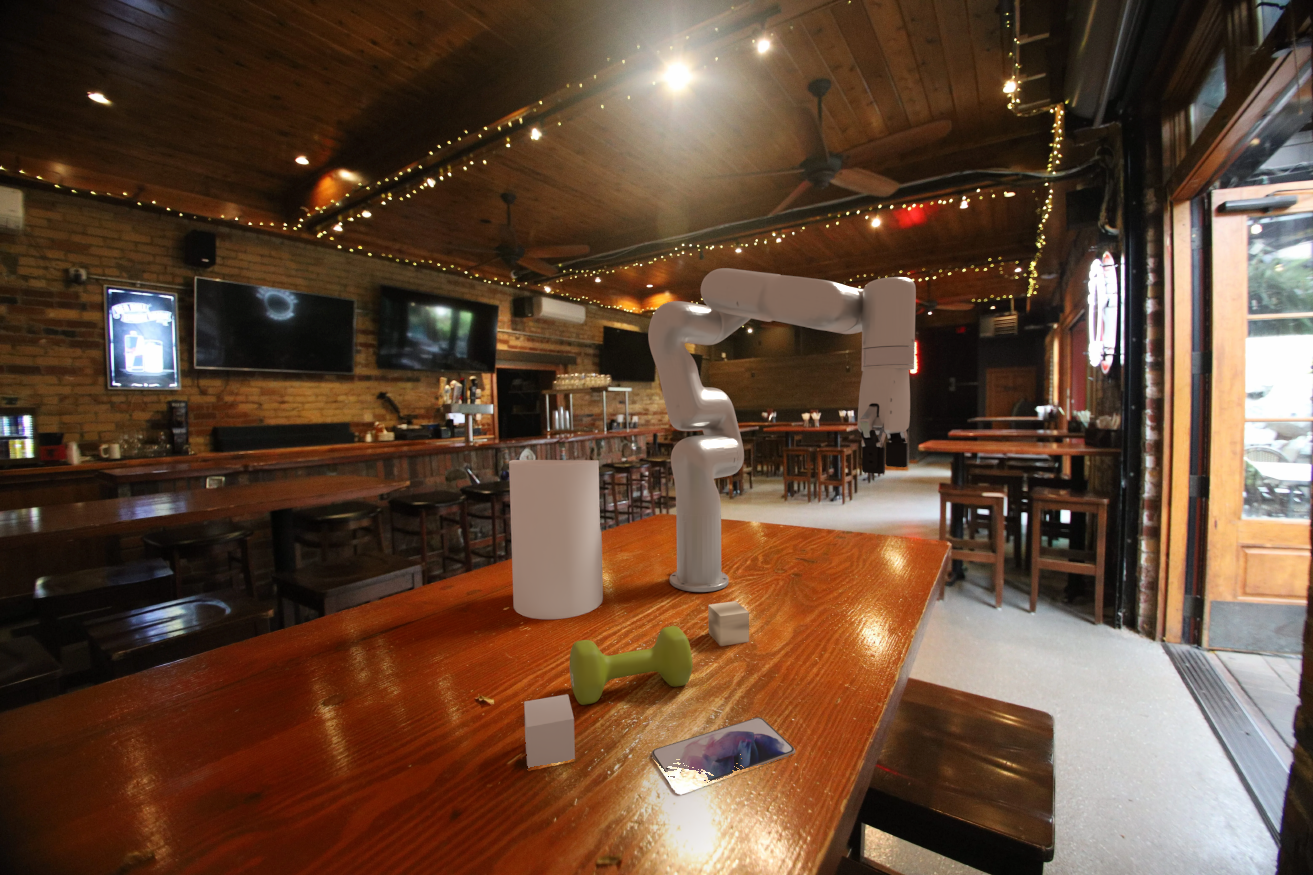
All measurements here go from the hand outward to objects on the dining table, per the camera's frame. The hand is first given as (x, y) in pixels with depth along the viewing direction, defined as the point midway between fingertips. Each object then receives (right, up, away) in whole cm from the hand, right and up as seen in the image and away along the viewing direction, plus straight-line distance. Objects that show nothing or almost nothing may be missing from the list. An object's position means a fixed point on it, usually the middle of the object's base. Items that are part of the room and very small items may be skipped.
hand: (885, 469), depth 83 cm
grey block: (-48, -30, -24) cm, 62 cm away
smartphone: (-29, -31, -25) cm, 49 cm away
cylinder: (-55, -27, +21) cm, 65 cm away
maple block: (-24, -28, +4) cm, 37 cm away
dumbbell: (-40, -30, -11) cm, 51 cm away
